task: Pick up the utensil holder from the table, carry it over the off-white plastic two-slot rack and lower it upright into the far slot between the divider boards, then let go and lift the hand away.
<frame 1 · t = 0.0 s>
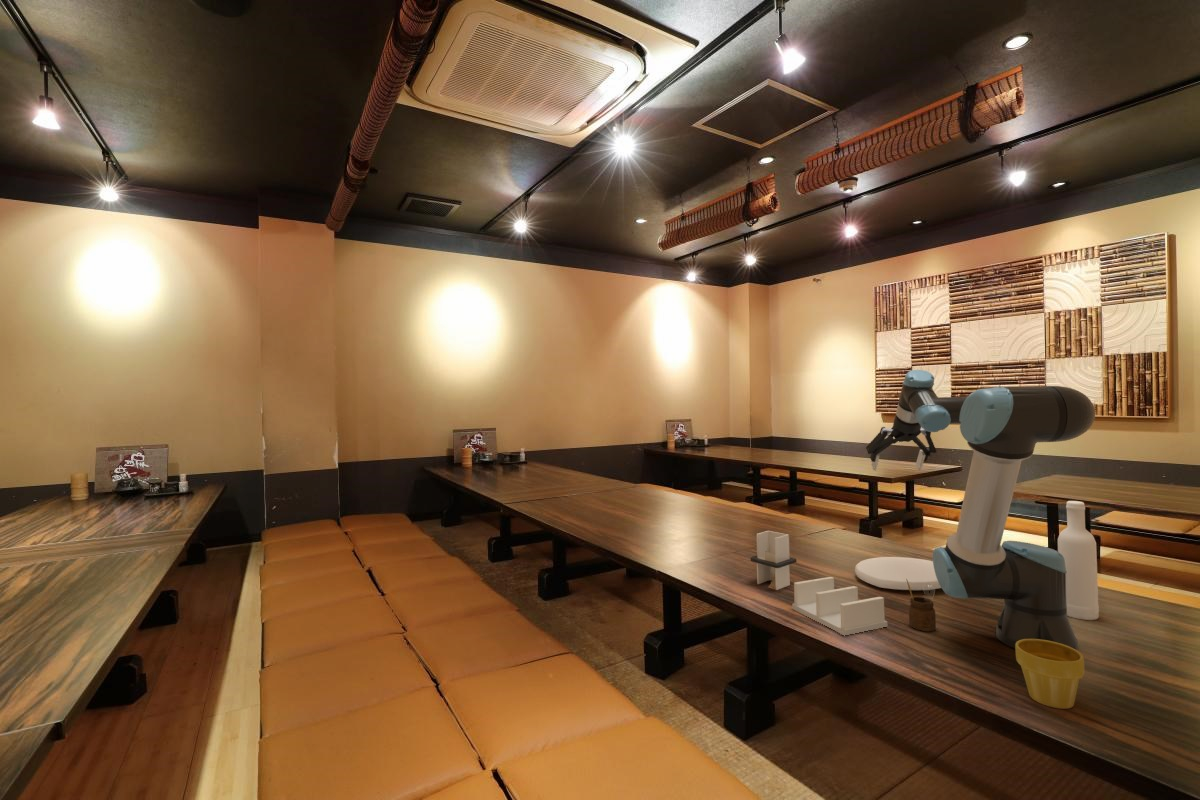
hand: (895, 467, 179), 36 cm above the table, tool tilted 35°, fingers open, 13 cm apart
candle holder: (773, 586, 175), on the table
slot rack: (837, 617, 147), on the table
bottle: (1079, 615, 145), on the table
plate: (902, 582, 175), on the table
utensil holder: (921, 627, 140), on the table
plant pot: (1050, 700, 105), on the table
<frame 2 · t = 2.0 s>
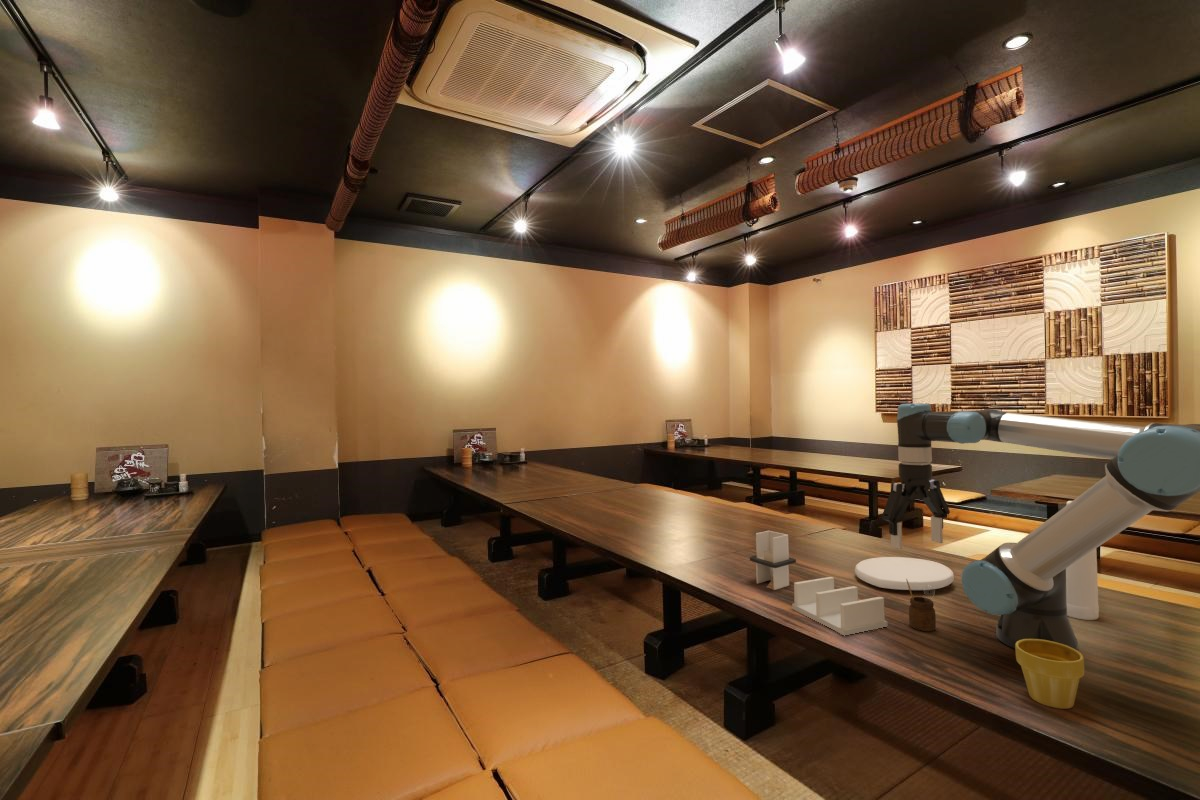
hand: (917, 544, 141), 21 cm above the table, tool pointing down, fingers open, 13 cm apart
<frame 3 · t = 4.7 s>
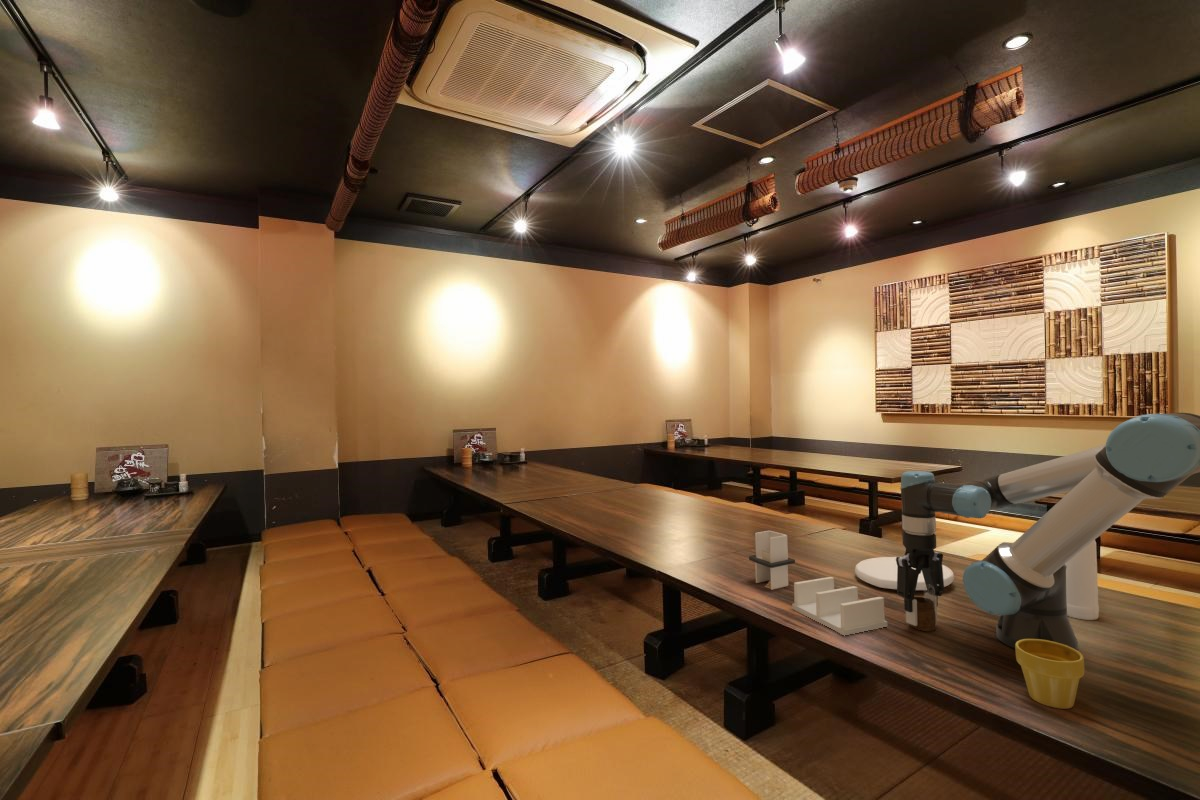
hand: (921, 621, 140), 1 cm above the table, tool pointing down, fingers closed on utensil holder, 6 cm apart
utensil holder: (921, 627, 140), on the table, touching gripper
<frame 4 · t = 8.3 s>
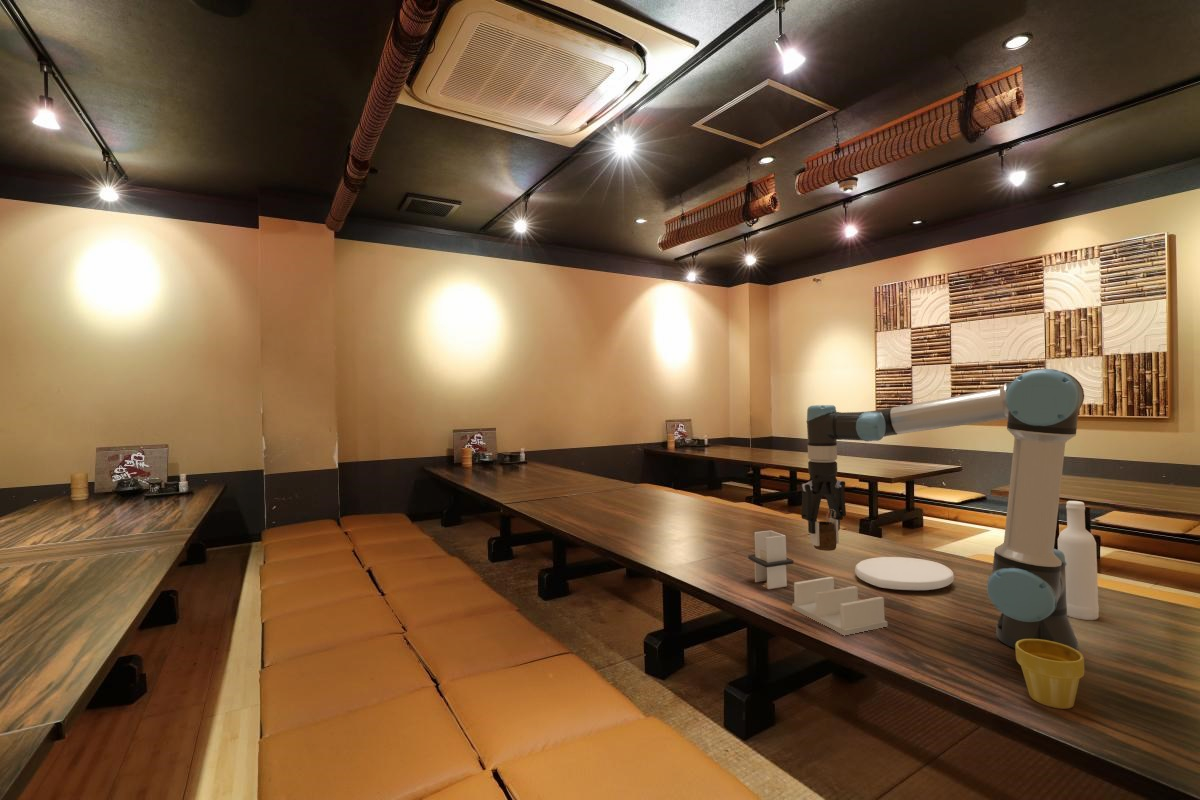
hand: (824, 543, 152), 19 cm above the table, tool pointing down, fingers closed on utensil holder, 6 cm apart
utensil holder: (824, 548, 152), point 18 cm above the table, touching gripper
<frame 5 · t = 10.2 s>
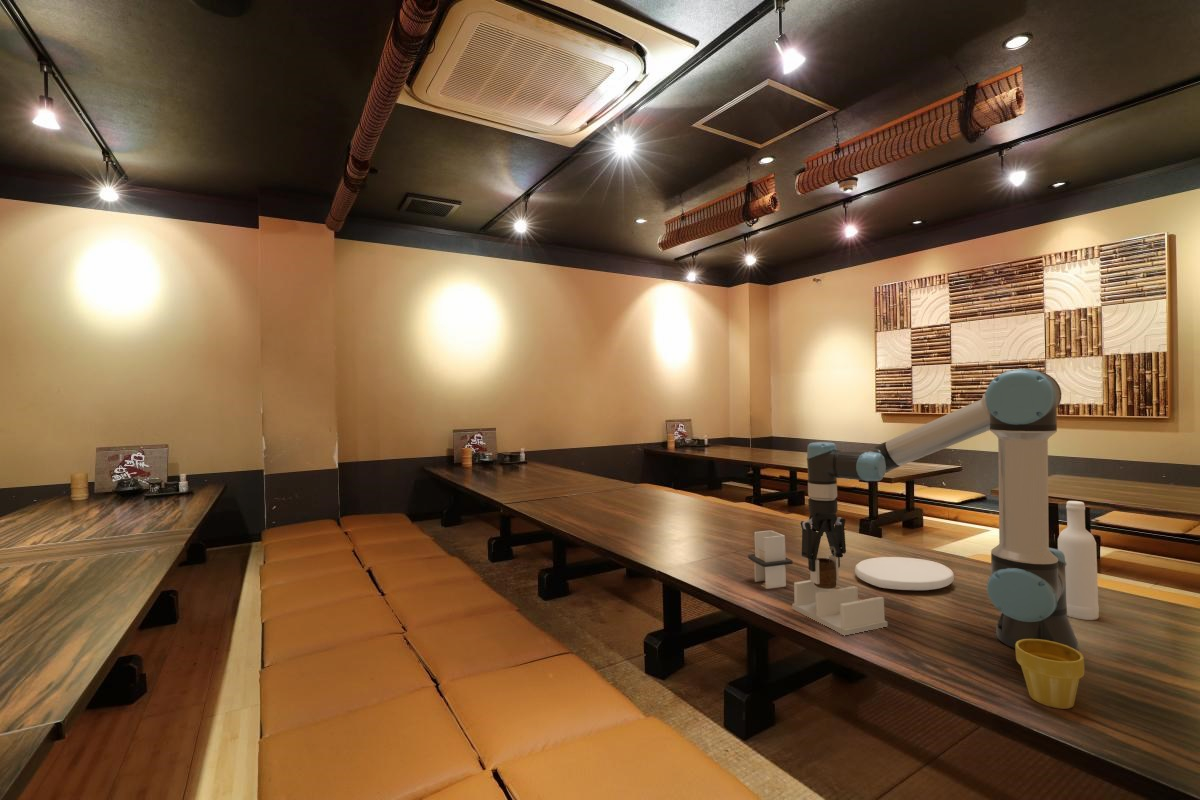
hand: (824, 580, 152), 9 cm above the table, tool pointing down, fingers closed on utensil holder, 6 cm apart
utensil holder: (824, 586, 152), point 7 cm above the table, touching gripper
when the fingers open (4 cm above the table, at t = 11.8 s): utensil holder drops 1 cm, resting on slot rack.
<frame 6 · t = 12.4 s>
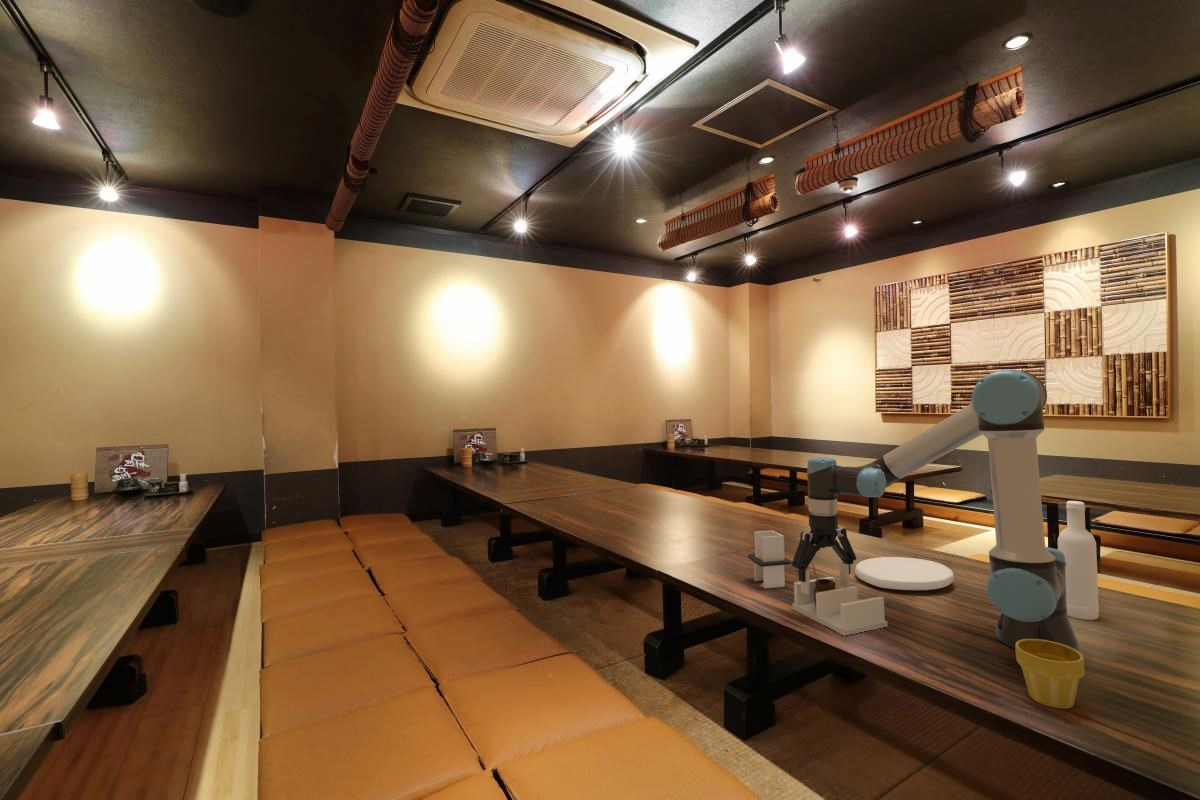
hand: (825, 589, 151), 6 cm above the table, tool pointing down, fingers open, 13 cm apart
utensil holder: (825, 607, 151), point 1 cm above the table, touching slot rack
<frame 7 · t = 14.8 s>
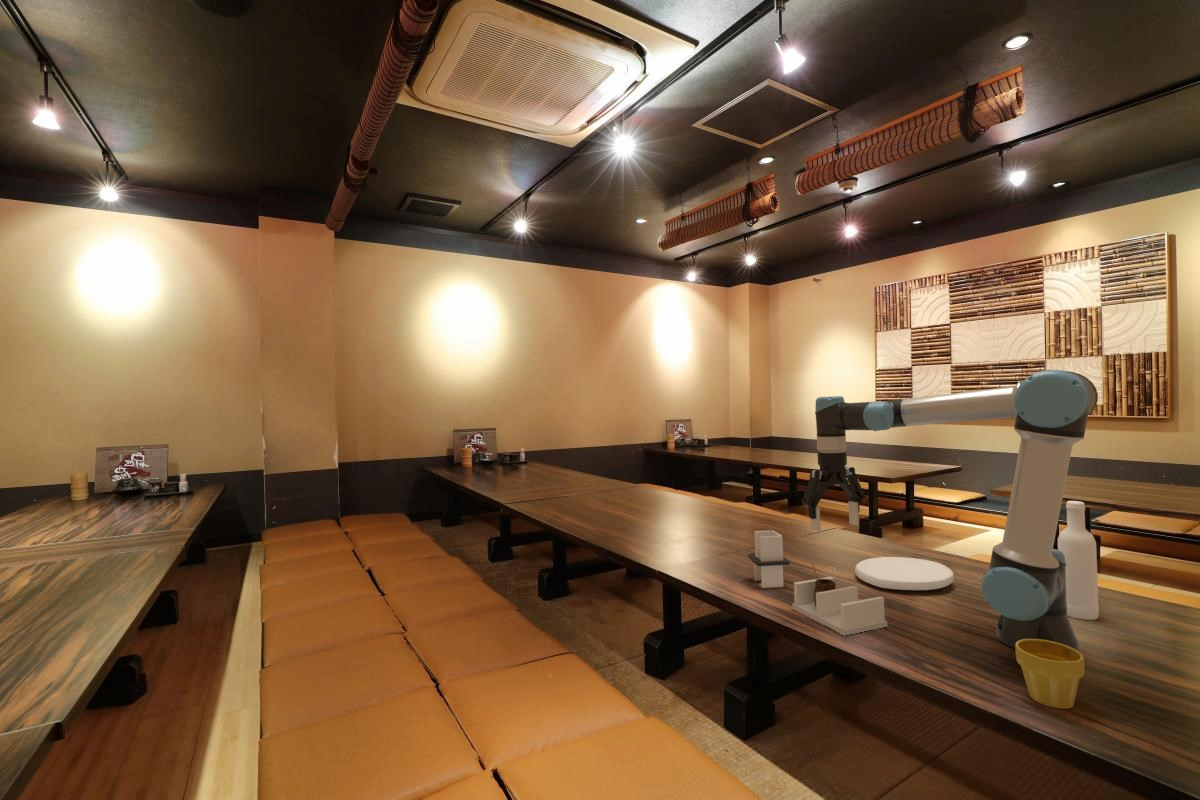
hand: (835, 527, 152), 23 cm above the table, tool pointing down, fingers open, 13 cm apart
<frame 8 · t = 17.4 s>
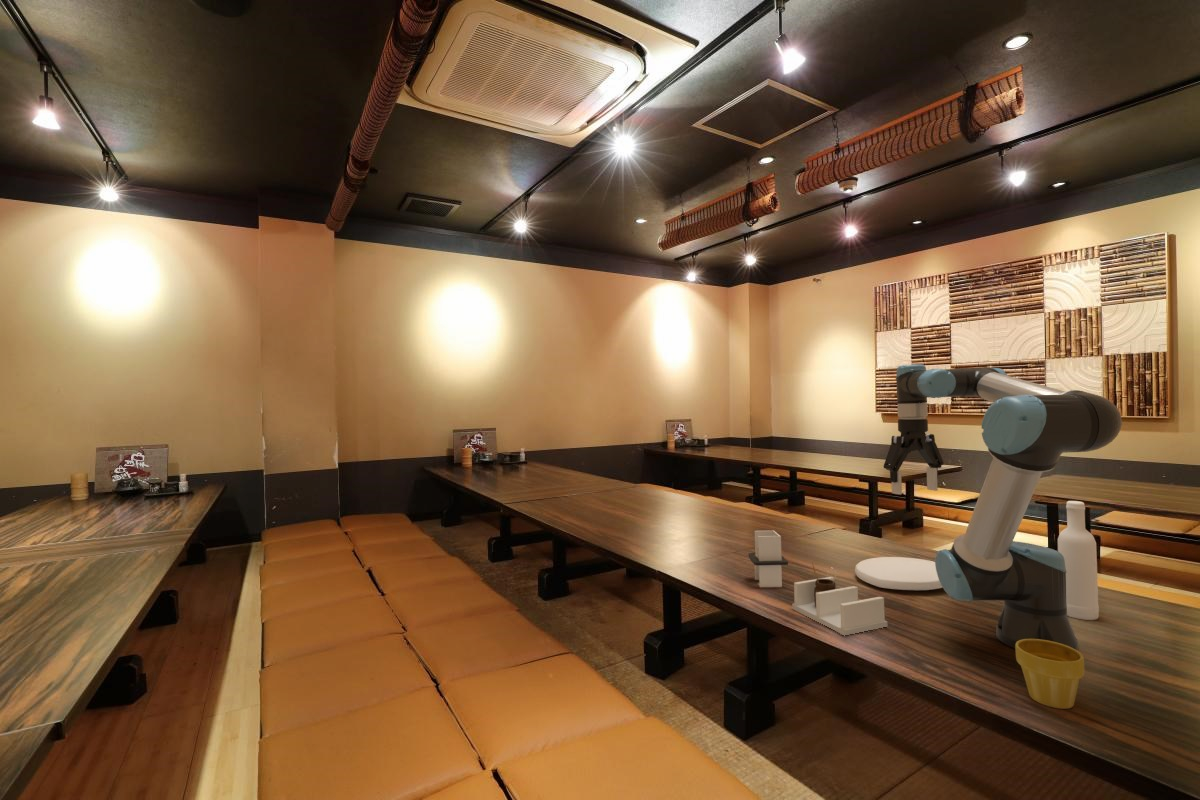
hand: (914, 492, 157), 32 cm above the table, tool pointing down, fingers open, 13 cm apart
at the end: utensil holder inside the target area on the slot rack (0.1 cm from its centre), point 1.3 cm above the slot rack's base; utensil holder tilted 0°; the gripper is holding nothing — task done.
